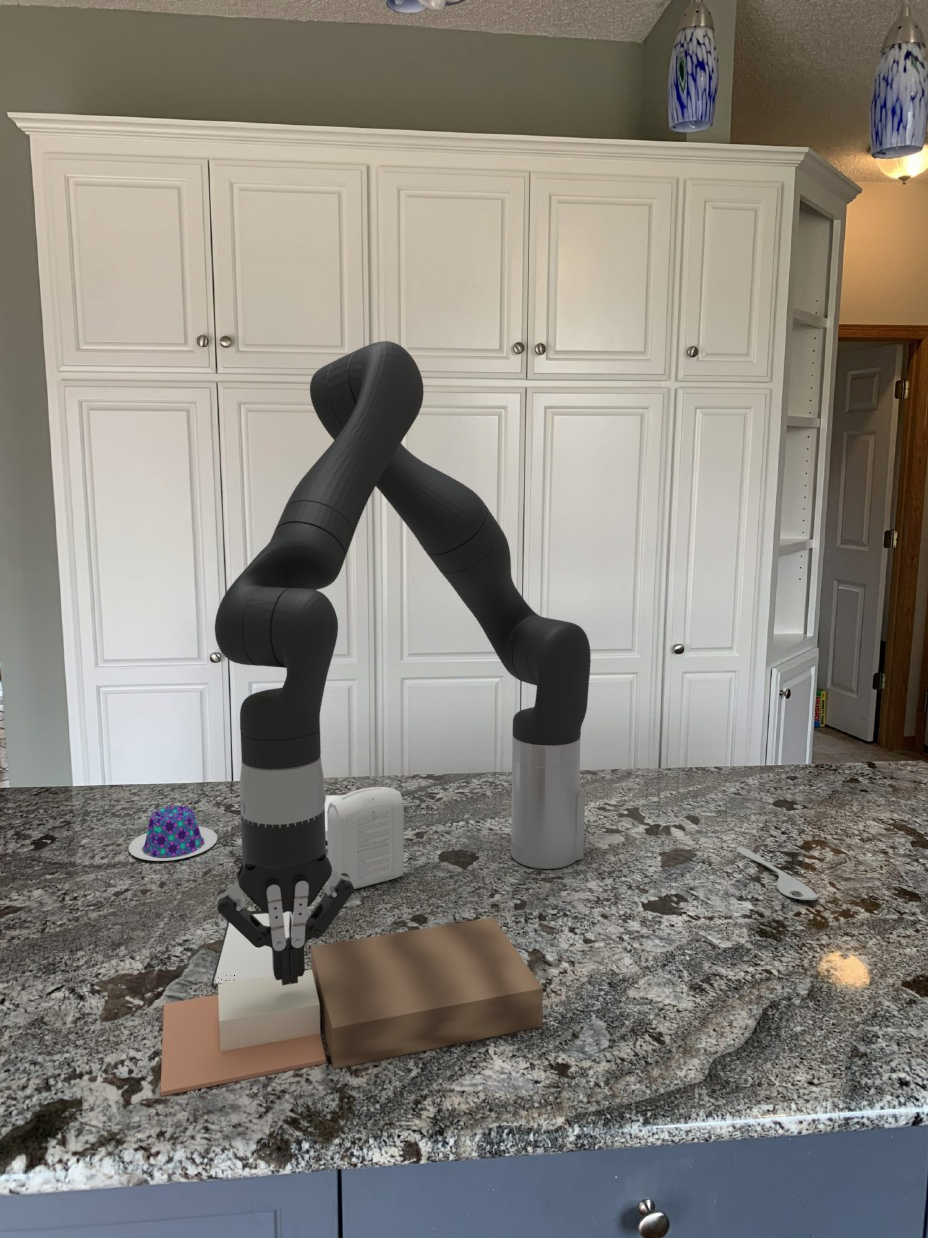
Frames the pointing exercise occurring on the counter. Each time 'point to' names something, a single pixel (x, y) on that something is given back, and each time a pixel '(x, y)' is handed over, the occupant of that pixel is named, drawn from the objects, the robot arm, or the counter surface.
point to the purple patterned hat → (172, 835)
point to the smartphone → (244, 954)
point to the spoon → (782, 878)
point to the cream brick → (267, 1011)
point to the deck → (422, 991)
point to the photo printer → (367, 835)
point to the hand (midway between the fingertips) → (288, 980)
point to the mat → (202, 1064)
